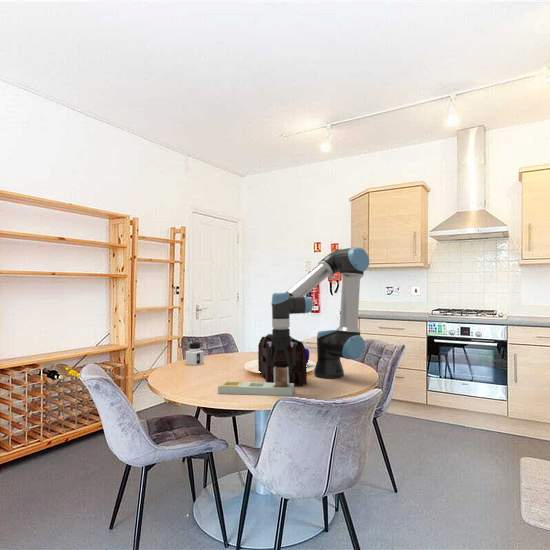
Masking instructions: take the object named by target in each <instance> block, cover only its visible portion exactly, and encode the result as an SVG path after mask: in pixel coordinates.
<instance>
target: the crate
mask: <svg viewBox="0 0 550 550" xmlns="http://www.w3.org/2000/svg"><path fill="white" fill-rule="evenodd" d="M290 340H291V342H294V343H295V342H296V343H297V345H296V348H295V354H296V365H295V366H293V367H292V373H291V375H289V383H294V388H296V387H304V386H305V385H307V379H308V378H307V377H308V376H307V372H308V371H307V369H308V366H307V367H306V350H305V346H304V343H302V342H303V341H300V340H298V339H295V338H293V337H292V336H291V335H290ZM271 341H272V333H267V335H265V336H262V337H261V338H260V340H259V343H258V345H257V346H258V350H257V351H258V352H257V360H258V361H257V363H258V367H257V369H258V371H260V372H261V374H260V375H261V377H262V378H263V379H265V383H274V375H272V374H271V367H270V366H267V347H266V343H267V342H271ZM287 349H288V353H289V357H290V361H291V364H292V347H291V344H290V345H289V346H288V347H287ZM274 351H275V347H274V346H273V344H271V347H270V363H272V360H273V355H274ZM274 367H276V368H287V367H288V364H287V360H286V356H285V352H284V350H278V353H277V357H276V361H275V366H274Z"/></svg>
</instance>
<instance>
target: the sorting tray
mask: <svg viewBox="0 0 550 550" xmlns="http://www.w3.org/2000/svg"><path fill="white" fill-rule="evenodd" d="M294 391H295V387H294V383H287V387H276V383H267V382H262V381H261V382H255V381H254V382H253V381H238V380H237V381H236V380H235V381H234V380H225V381H222V382H221V383H220V384H219V385H218V386H217V394H219V395H220V394H227V395H261V396H262V395H263V396H290V397H291V396H293V394H294V393H295V392H294Z"/></svg>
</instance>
